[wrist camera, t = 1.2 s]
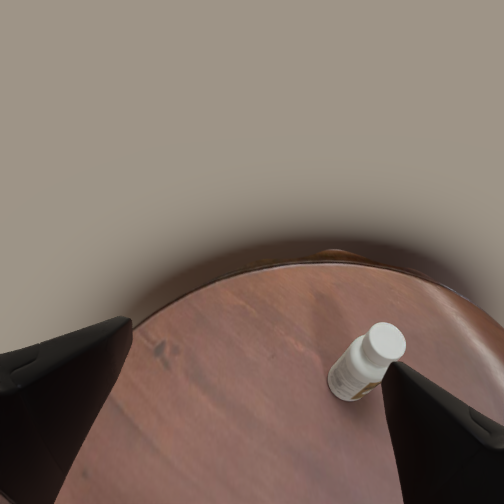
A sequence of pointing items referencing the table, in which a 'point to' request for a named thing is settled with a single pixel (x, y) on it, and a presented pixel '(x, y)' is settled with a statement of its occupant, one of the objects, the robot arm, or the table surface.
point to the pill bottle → (366, 362)
